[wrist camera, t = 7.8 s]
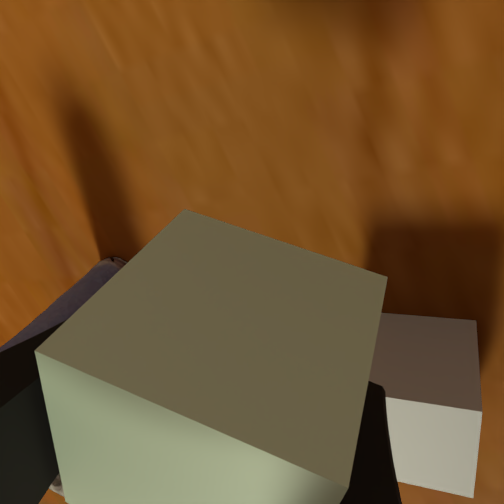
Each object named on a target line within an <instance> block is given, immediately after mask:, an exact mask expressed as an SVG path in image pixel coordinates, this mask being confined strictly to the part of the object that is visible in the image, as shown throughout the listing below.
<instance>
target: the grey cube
mask: <svg viewBox="0 0 504 504" xmlns="http://www.w3.org/2000/svg"><path fill="white" fill-rule="evenodd" d="M369 381H371V382H373V383H376V384H378V385H381V386H383V388H384V390H385V391H386V409H387V420H388V428H389V436H390V443H391V450H392V456H393V462H394V467H395V472H396V477H397V481H399V482H403V483H408V484H412V485H417V486H421V487H426V488H430V489H435V490H439V491H444V492H448V493H453V494H457V495H462V496H466V497H470V498H473V495H474V485H475V476H476V466H477V457H478V447H479V438H480V428H481V419H482V401H481V385H480V370H479V355H478V340H477V324H476V320H465V319H452V318H440V317H428V316H416V315H403V314H391V313H381V316H380V322H379V327H378V332H377V338H376V343H375V348H374V354H373V359H372V365H371V370H370V375H369Z"/></svg>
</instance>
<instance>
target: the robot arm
mask: <svg viewBox="0 0 504 504" xmlns="http://www.w3.org/2000/svg"><path fill="white" fill-rule="evenodd" d="M67 320H68V319H67ZM67 320H65V321H67ZM65 321H63V322H61V323H59V324H57V325H55V326H53V327H51V328H49V329H47V330H45V331H43V332H41V333H39V334H37V335H35V336H33V337H31V338H29V339H27V340H25V341H23V342H21V343H18V344H16V345H14V346H12V347H10V348H8V349H6V350H3V351H1V352H0V504H38V503H39V502H40V500H41V499H42V497H43V496H44V494H45V493H46V491H47V490H48V488H49V487H50V485H51V484H52V482H53V481H54V479H55V478H56V477H57V475H58V474H59V473H60V472H59V467H58V462H57V457H56V453H55V448H54V443H53V438H52V433H51V428H50V423H49V419H48V414H47V409H46V404H45V399H44V394H43V390H42V385H41V380H40V375H39V370H38V365H37V360H36V356H35V350H36V349H37V348H38V347H39V346H40V345H41V344H42V343H43V342H44V341H45V340H46V339H47V338H49V337H50V336H51V335H52V334H53V333H54V332H55V331H56V330H57V329H58V328H59V327H60V326H61V325H62V324H63V323H64V322H65ZM340 504H402V502H401V498H400V492H399V487H398V482H397V477H396V472H395V467H394V462H393V456H392V450H391V443H390V436H389V428H388V420H387V409H386V391H385V390H384V388H383V386H381V385H378V384H376V383H373V382H371V381H368V386H367V391H366V397H365V402H364V407H363V413H362V418H361V423H360V429H359V434H358V440H357V445H356V450H355V456H354V461H353V466H352V472H351V477H350V482H349V488H348V490H347V492H346V493H345V495H344V497H343V499H342V500H341V502H340Z"/></svg>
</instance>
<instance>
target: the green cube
mask: <svg viewBox="0 0 504 504" xmlns="http://www.w3.org/2000/svg"><path fill="white" fill-rule="evenodd" d="M387 279H388V277H386V276H383V275H380V274H377V273H374V272H371V271H368V270H365V269H362V268H359V267H356V266H353V265H350V264H347V263H344V262H341V261H338V260H335V259H333V258H330V257H327V256H324V255H321V254H318V253H315V252H312V251H309V250H306V249H303V248H300V247H297V246H294V245H291V244H288V243H285V242H282V241H279V240H276V239H273V238H270V237H267V236H264V235H261V234H258V233H255V232H252V231H249V230H246V229H243V228H240V227H237V226H234V225H231V224H228V223H225V222H222V221H219V220H216V219H213V218H210V217H207V216H204V215H201V214H198V213H195V212H192V211H189V210H186V209H184V210H183V211H182V212H181V213H180V214H179V215H178V216H177V217H176V218H174V219H173V220H172V221H171V222H170V223H169V224H168V225H167V226H166V227H165V228H164V229H163V230H162V231H161V232H160V233H159V234H158V235H156V236H155V237H154V238H153V239H152V240H151V241H150V242H149V243H148V244H147V245H146V246H145V247H144V248H143V249H142V250H141V251H140V252H138V253H137V254H136V255H135V256H134V257H133V258H132V259H131V260H130V261H129V262H128V263H127V264H126V265H125V266H124V267H123V268H122V269H120V270H119V271H118V272H117V273H116V274H115V275H114V276H113V277H112V278H111V279H110V280H109V281H108V282H107V283H106V284H105V285H104V286H102V287H101V288H100V289H99V290H98V291H97V292H96V293H95V294H94V295H93V296H92V297H91V298H90V299H89V300H88V301H87V302H86V303H85V304H83V305H82V306H81V307H80V308H79V309H78V310H77V311H76V312H75V313H74V314H73V315H72V316H71V317H70V318H69V319H68V320H67V321H65V322H64V323H63V324H62V325H61V326H60V327H59V328H58V329H57V330H56V331H55V332H54V333H53V334H52V335H51V336H50V337H49V338H47V339H46V340H45V341H44V342H43V343H42V344H41V345H40V346H39V347H38V348H37V349H36V350H35V356H36V360H37V365H38V370H39V375H40V380H41V385H42V390H43V394H44V399H45V404H46V409H47V414H48V419H49V423H50V428H51V433H52V438H53V443H54V448H55V453H56V457H57V462H58V467H59V472H60V477H61V482H62V486H63V491H64V496H65V501H66V502H67V503H69V504H340V502H341V500H342V499H343V497H344V495H345V493H346V492H347V490H348V488H349V482H350V477H351V472H352V466H353V461H354V456H355V450H356V445H357V440H358V434H359V429H360V423H361V418H362V413H363V407H364V402H365V397H366V391H367V386H368V381H369V375H370V370H371V365H372V359H373V354H374V348H375V343H376V338H377V332H378V327H379V322H380V316H381V311H382V306H383V300H384V295H385V290H386V284H387Z"/></svg>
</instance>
